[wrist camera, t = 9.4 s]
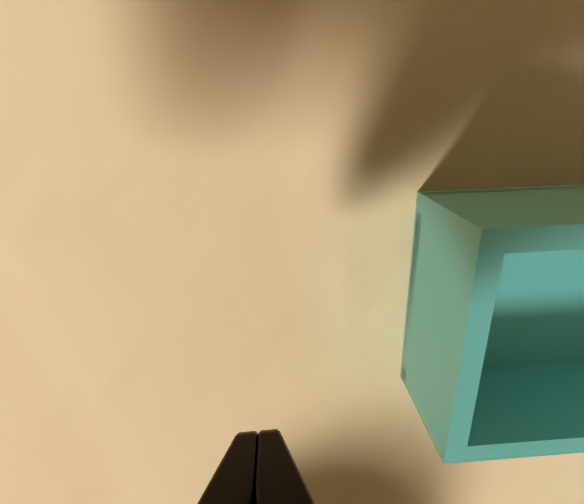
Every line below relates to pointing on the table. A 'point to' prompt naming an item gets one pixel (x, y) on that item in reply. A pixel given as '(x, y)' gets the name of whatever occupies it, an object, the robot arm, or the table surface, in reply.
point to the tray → (498, 321)
